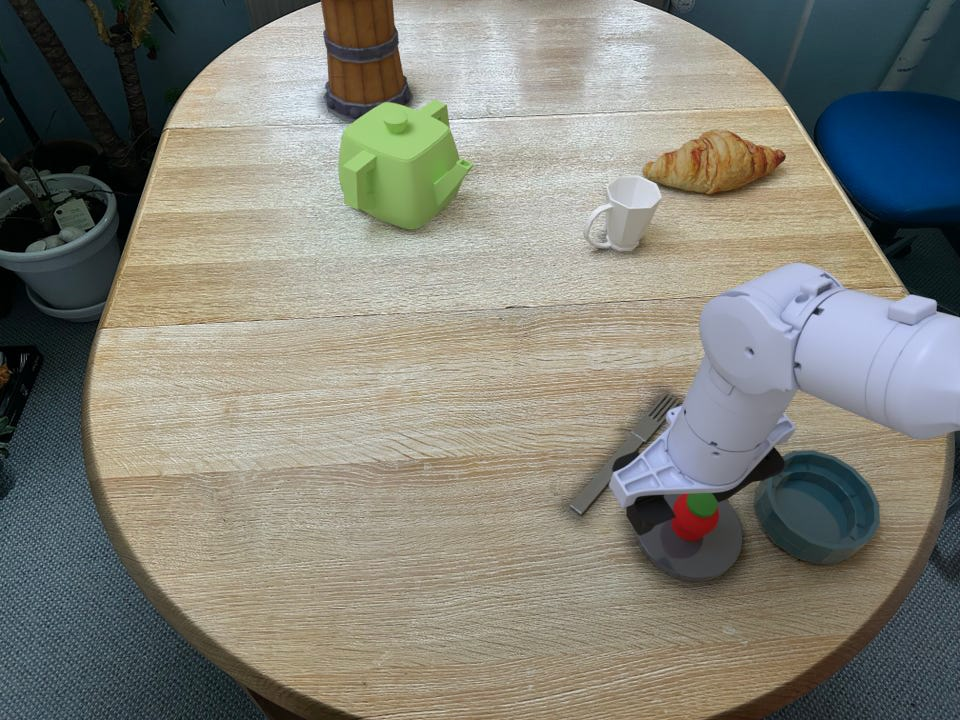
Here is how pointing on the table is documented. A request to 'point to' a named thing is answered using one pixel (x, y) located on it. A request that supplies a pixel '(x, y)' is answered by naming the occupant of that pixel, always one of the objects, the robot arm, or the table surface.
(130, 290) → the table surface
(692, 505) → the strawberry
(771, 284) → the robot arm
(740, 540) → the plate
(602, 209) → the cup
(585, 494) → the fork
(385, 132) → the teapot
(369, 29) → the mug
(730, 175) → the croissant
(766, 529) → the bowl
